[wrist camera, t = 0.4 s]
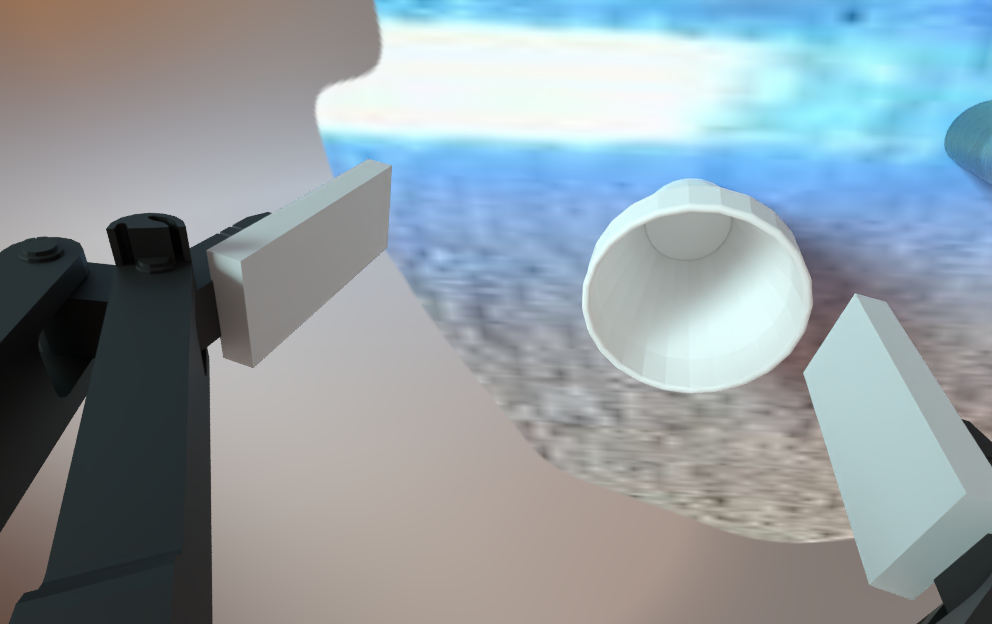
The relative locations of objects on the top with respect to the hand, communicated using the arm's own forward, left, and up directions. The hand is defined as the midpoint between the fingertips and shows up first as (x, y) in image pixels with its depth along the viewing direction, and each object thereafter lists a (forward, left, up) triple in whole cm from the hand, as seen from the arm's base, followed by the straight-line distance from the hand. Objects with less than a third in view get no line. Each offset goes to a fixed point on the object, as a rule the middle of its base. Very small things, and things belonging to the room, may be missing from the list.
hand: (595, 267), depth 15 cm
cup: (+8, +6, -28) cm, 29 cm away
